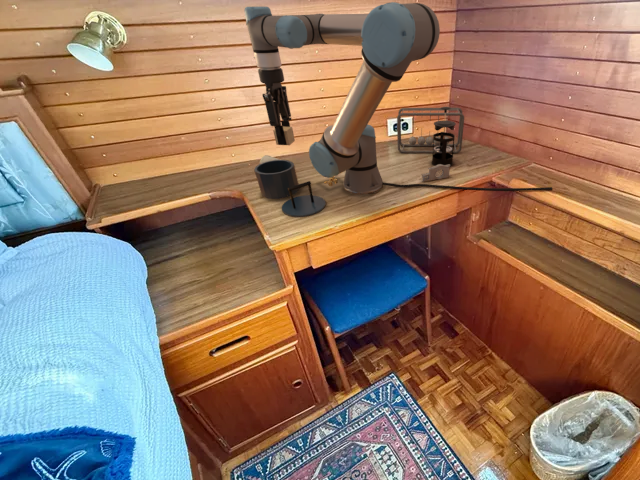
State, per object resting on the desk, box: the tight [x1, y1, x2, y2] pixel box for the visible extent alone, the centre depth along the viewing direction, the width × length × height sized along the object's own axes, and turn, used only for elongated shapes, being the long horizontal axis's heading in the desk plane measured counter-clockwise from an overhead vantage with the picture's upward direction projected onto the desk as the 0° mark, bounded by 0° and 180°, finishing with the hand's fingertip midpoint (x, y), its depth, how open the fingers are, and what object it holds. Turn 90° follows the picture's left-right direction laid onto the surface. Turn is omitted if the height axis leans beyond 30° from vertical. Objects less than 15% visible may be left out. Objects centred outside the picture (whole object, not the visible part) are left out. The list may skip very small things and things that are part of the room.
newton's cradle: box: [396, 107, 465, 154], centre depth 155 cm, size 30×10×18 cm, turn 87°
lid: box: [281, 180, 327, 218], centre depth 113 cm, size 15×15×9 cm
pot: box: [253, 159, 300, 200], centre depth 123 cm, size 14×14×10 cm
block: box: [272, 126, 296, 146], centre depth 118 cm, size 5×5×5 cm
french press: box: [431, 106, 456, 167], centre depth 139 cm, size 12×9×23 cm
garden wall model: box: [421, 164, 451, 182], centre depth 131 cm, size 12×2×6 cm, turn 110°
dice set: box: [324, 176, 339, 187], centre depth 130 cm, size 5×5×2 cm
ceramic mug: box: [258, 154, 281, 165], centre depth 138 cm, size 11×8×8 cm
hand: (285, 142), depth 119 cm, fingers closed on block, 5 cm apart
